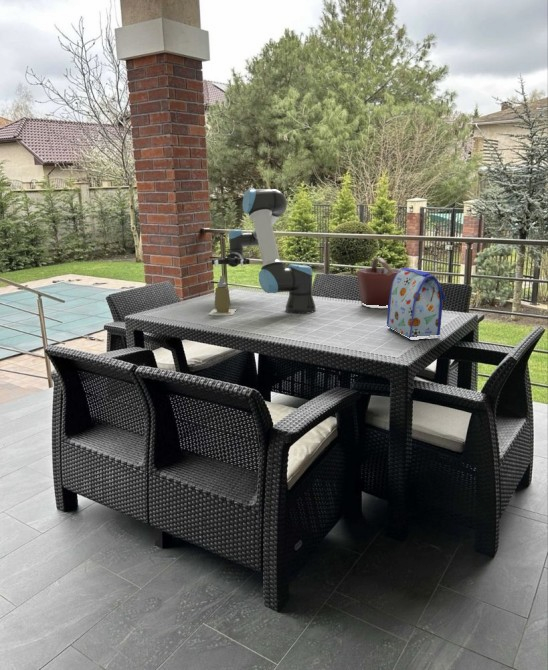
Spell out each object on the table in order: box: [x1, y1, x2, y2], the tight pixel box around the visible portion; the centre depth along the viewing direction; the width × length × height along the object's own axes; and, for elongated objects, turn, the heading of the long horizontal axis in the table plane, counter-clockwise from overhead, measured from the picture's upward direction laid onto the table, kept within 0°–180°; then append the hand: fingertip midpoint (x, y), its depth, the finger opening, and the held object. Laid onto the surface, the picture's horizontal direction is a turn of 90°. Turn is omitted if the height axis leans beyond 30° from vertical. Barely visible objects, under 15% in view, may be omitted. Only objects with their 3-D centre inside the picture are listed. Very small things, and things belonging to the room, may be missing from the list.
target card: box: [208, 308, 237, 316], centre depth 268 cm, size 12×12×1 cm
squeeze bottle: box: [214, 275, 231, 312], centre depth 266 cm, size 8×8×18 cm
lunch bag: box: [386, 267, 447, 338], centre depth 220 cm, size 23×17×27 cm
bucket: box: [356, 257, 401, 306], centre depth 276 cm, size 24×22×25 cm
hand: (228, 263), depth 275 cm, fingers open, 13 cm apart
